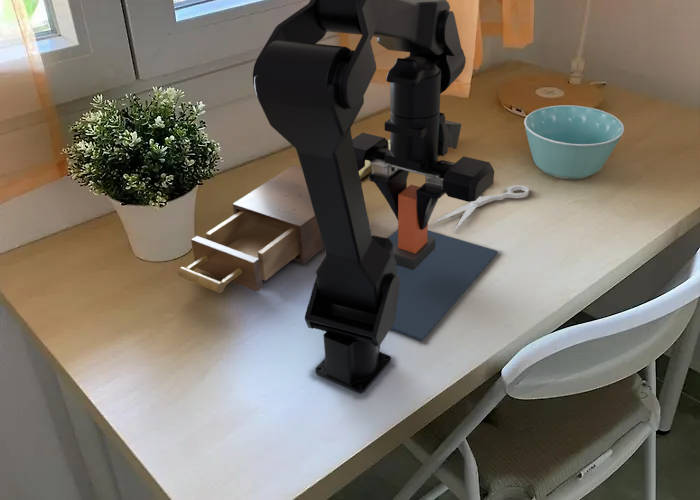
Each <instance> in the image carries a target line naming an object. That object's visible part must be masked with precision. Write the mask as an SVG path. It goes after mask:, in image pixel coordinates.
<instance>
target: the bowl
mask: <svg viewBox="0 0 700 500" xmlns="http://www.w3.org/2000/svg"><path fill="white" fill-rule="evenodd" d="M523 125H524V128H525V133H526V138H527V142H528V145H529V150H530V153H531V156H532V160H533V163H534V165H535V166H536V167H537V168H539V169H540V170H541V172H543V173H545V174H546V175H548V176H550V177H552V178H555V179H559V180H568V181H577V180H583V179H586V178H588V177H590V176H592V175H595V174H596V173H598V172H599V171H601V170H602V168H603V167H604V165H605V164H606V162H607V161H608V159H609V157H610V156H611V155H612V154H613V152H614V150H615V148H616V146H617V145H618V144H619V142H620V140H621V138H622V136H623V134H624V133H625V125H624V123H623V122H622V120H620V119H619V118H617V117H616V116H615V115H613V114H611V113H610V112H608V111H607V112H606V111H604V110H602V109H598V108H594V107H590V106H583V105H571V104H570V105H568V104H567V105H566V104H565V105H562V104H561V105H551V106H546V107H545V106H544V107H540V108H538V109H535V110H533V111H531V112H530V113H528V114H527V115H526V117H525V118H524V120H523Z"/></svg>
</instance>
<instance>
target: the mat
mask: <svg viewBox="0 0 700 500" xmlns="http://www.w3.org/2000/svg"><path fill="white" fill-rule="evenodd" d="M427 236H429V237H432V238H435V239H436V241H435V249H434V250H433V251H432V252H431V253H430V254H429V255H428V256H427V257H426V258H425V259H424V260H423V261H422V262H421V263H420V264H419V265H418V266H417V267H416V268H415V269H414V270H411V269H408V268H405V267H402V266H399V265H395V268H396V274H397V275H398V276H399V279H400V286H399V294H398V301H397V309H396V316H395V322H394V324H393V325H392V327H391V329H390V331H391V330H392V331H394V332H396V333H399V334H401V335H405V336H407V337H410V338H413V339H415V340H417V341H421V342H423V341H424V340H425V339H426V338H427V337H428V335H429V334H430V333H431V332H432V331H433V329H434V328H435V327H436V326H437V325H438V324H439V322H440V321H441V320H442V319H443V318H444V317H445V316H446V314H447V313H448V312H449V311H450V310H451V309H452V307H453V306H454V305H455V304H456V302H458V301H459V299H460V298H461V297H462V296H463V294H465V292H466V291H467V290H468V289H469V288H470V286H471V285H472V284H473V283H474V282H475V281H476V279H477V278H478V277H479V276H480V274H482V272H483V271H485V269H486V268H487V267H488V265H489V264H490V263H491V262H492V260H494V258H495V257H496V256H497V255H498V252H499V251H498V250H496V249H493V248H489V247H486V246H482V245H479V244H476V243H472V242H469V241H465V240H461V239H458V238H457V237H456V238H455V237H453V236H449V235H445V234H442V233H439V232H435V231H431V230H429V229H428V234H427ZM388 239H390V241H391V242H392V244H393V248H395V247H396V246H397V245H398V229H397V230H395V231H394V232H393V233H392V234H390V236H388Z"/></svg>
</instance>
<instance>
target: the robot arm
mask: <svg viewBox="0 0 700 500" xmlns="http://www.w3.org/2000/svg"><path fill="white" fill-rule="evenodd" d="M458 30H459V29H458V26H457V20H456V16H455V13H454V11H452V10H451V6H450V2H448V1H447V0H309V2H308V3H307V4H305V5H304V6H303V7H301V8H300V9H298V10H297V11H296V12H294V13H293V14H291V15H290V16H288V17H287V18H285V19H284V20H283V21H281V22H279V23H278V24H277V25H276V26H275V28H274V29H273V31H272V33H271V34H270V36H269V37H268V39H267V41H266V43H265V44H264V46H263V48H262V49H261V51H260V53H259V55H257V58H256V60H255V62H254V65H253V70H252V84H253V88H254V91H255V96H256V98H257V101H258V102H259V105H260V107H261V109H262V112H263V113H264V115H265V117H266V120H267V121H268V123H269V125H270V126H271V127H272V128H273V129H274V130H275V131H276V132H277V133H278V134H279V135H280V136H281V137H283V139H285V140H286V141H287V142H288V143H289V144H290V145H291V146H292V147H293V148H294V149H295V151H296V154H297V157H298V160H299V161H298V162H299V165H300V168H302V172H303V175H304V179H305V182H306V186H307V189H308V193H309V196H310V200H311V203H312V207H313V210H314V214H315V217H316V221H317V224H318V228H319V231H320V235H321V238H322V242H323V245H324V248H323V249H324V253H325V254H324V255H323V258H322V259H321V261H320V263H319V265H318V266H317V268H316V270H315V280H314V283H313V287H312V291H311V293H310V297H309V300H308V304H307V307H306V311H305V313H304V314H305V315H304V321H305V323H306V326H307V328H308V329H312V330H313V329H314V330H318V331H323V332H324V334H323V346H324V358H323V360H322V361H321V362H320V363H319V364H318V365H317V366H316V367H315V369H314V373H315V374H316V375H317V376H320V377H322V378H324V379H326V380H328V381H331V382H333V383H335V384H337V385H340V386H342V387H344V388H346V389H349V390H351V391H353V392H355V393H357V394H364V393H366V391H367V390H368V389H369V388H370V387H371V385H372V384H373V383H374V382H375V381H376V380H377V378H378V377H379V376H380V375H381V374H382V373H383V372H384V370H385V369H386V368H387V367H388V366H389V365H390V364H391V362H392V356H390V355H389V354H386V353H385V352H381V351H380V350H381V344H382V343H383V342H384V341H385V338H386V337H387V334H388V333H389V332H390V331H391V327H392V325H393V324H394V322H395V316H396V309H397V301H398V294H399V286H400V279H399V276H398V275H397V274H396V268H395V265H396V264H397V262H396V260H395V258H394V251H393V244H392V242H391V241H390V239H388V238H389V237H388V238H387V237H383V236H379V235H374V234H372V231H371V226H370V220H369V215H368V210H367V206H366V201H365V196H364V191H363V187H362V181H361V179H360V176H359V171H360V170H361V169H362V168H363V167H365V160H368V161H370V164H371V165H372V172H371V173H370V174H368V181H370V182H372V183H374V184H375V186H376V188H378V190H379V191H380V193H381V194H382V196H383V197H384V199H385V200H386V202H387V204H388V205H389V207H390V209H391V210H392V213H393V214H394V216H395V218H396V220H398V195H399V194H400V193H401V192H402V191H403V190H405V189H406V188H407V187H408V185H407V184H408V177H409V172H410V173H414V174H418V175H421V176H424V177H425V178H424V180H425V182H424V183H423V184H422V185H421V186H419V187H420V188H419V189H418V190H416V195H417V213H418V224H419V228H420V229H421V230H423V229H424V228H425V227H426V226H427V223H428V224H429V221H430V219H431V216H432V214H433V212H434V209H435V207H436V205H437V203H438V200H439V199H441V198H442V197H443V196H444V195H446V196H447V197H448V198H453V199H456V200H460V201H463V202H467V203H470V202H471V201H476V200H477V199H478V198H479V197H480V196H481V197H482V195H483V194H484V193H485V192H486V191H487V190H488V189H489V188H490V187H491V186H492V185H493V184H494V179H495V169H494V167H493V165H492V164H491V162H489V161H485V160H481V159H477V158H473V157H469V156H465V155H464V156H462V157H460V159H458V160H457V161H456V162H453V161H449V160H444V159H441V160H439V157H444V156H446V155H447V154H448V153H449V152H448V151H449V148H452V149H457V148H458V144H459V139H460V135H461V134H460V133H461V129H462V123H461V122H455V121H451V120H448V119H447V120H446V115H445V113H443V112H441V110H440V109H441V94H442V93H444V92H445V91H447V90H448V88H449V87H450V86H451V85H452V84H453V83H454V82H455V81H456V80H457V79H458V77H459V76H460V75H461V74H463V71H464V69H465V68H466V67H465V66H466V61H467V59H466V56H465V51H464V50H463V47H462V44H461V43H462V42H461V40H460V34H459V31H458ZM327 32H329V33H338V34H348V35H349V34H350V35H359V36H361V37H360V39H359V41H358V43H357V45H356V47H355V50H354V49H351V48H349V47H347V46H343V45H342V46H341V45H333V44H324V43H323V44H322V43H319V42H320V41H321V40H323V38H325V36H326V34H327ZM373 37H376V42H377V44H378V45H380V46H381V47H383V48H384V49H385V50H387V51H394V52H404V53H409V56H406V57H403V58H402V57H397V58H396V60H395V63H394V65H393V66H391V68H390V69H389V70H388V72H387V75H386V77H385V81H386V82H387V83H389V89H390V91H389V92H390V94H389V95H390V96H389V98H390V99H389V102H390V103H389V104H390V105H389V106H390V107H389V110H390V111H389V112H390V113H389V114H390V115H389V116H390V117H389V119H388V120H386V121H384V131H385V132H389V133H390V134H389V135H390V137H389V139H390V150H389V149H388V139H386V137H383V136H379V135H376V134H370V133H366V132H361V133H360V134H358V135H357V136H355V137H352V136H353V135H352V130H351V128H352V126H353V124H354V122H355V120H356V119H357V116H358V115H359V113H360V112H361V109H362V107H363V106H364V103H365V94H366V92H367V90H368V88H369V86H370V84H371V81H372V80H373V78H374V75H375V74H376V71H377V68H378V67H377V62H376V58H375V55H374V51H373V46H372V40H373V39H372V38H373Z"/></svg>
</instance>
